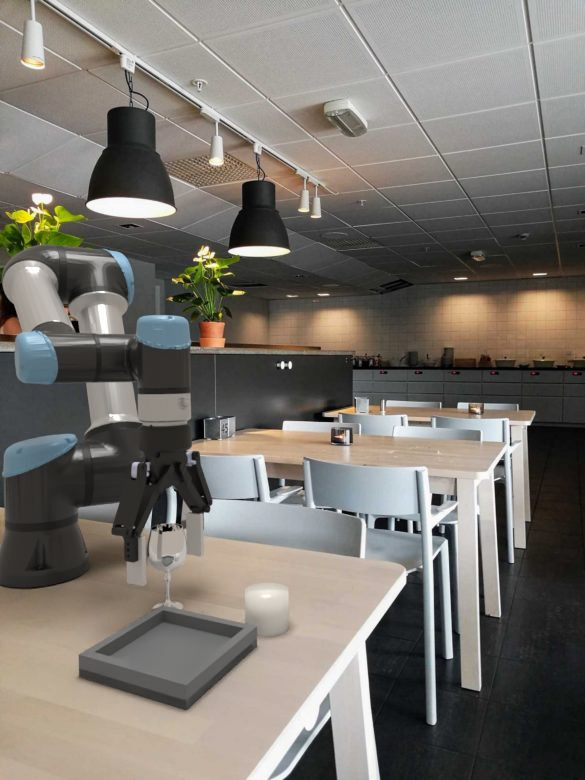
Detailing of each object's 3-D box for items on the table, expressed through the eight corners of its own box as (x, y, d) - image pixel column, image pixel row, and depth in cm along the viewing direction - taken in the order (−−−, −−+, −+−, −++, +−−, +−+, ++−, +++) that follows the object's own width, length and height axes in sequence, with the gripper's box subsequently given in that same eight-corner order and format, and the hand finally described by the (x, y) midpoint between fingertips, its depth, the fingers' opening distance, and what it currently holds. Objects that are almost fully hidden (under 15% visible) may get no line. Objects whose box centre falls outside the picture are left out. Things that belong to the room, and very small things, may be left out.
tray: (79, 676, 66) (78, 654, 66) (162, 623, 80) (161, 605, 80) (186, 709, 60) (186, 685, 60) (257, 646, 73) (256, 626, 73)
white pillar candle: (236, 631, 78) (236, 595, 77) (258, 614, 83) (258, 579, 83) (276, 640, 75) (276, 602, 75) (296, 622, 80) (296, 586, 80)
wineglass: (153, 619, 81) (151, 535, 81) (143, 604, 86) (142, 525, 86) (192, 611, 84) (191, 529, 83) (181, 597, 89) (180, 520, 88)
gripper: (125, 432, 71) (129, 603, 72) (232, 417, 93) (234, 547, 94) (80, 430, 74) (84, 594, 75) (194, 416, 97) (196, 542, 97)
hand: (168, 568), depth 84 cm, fingers open, 13 cm apart
